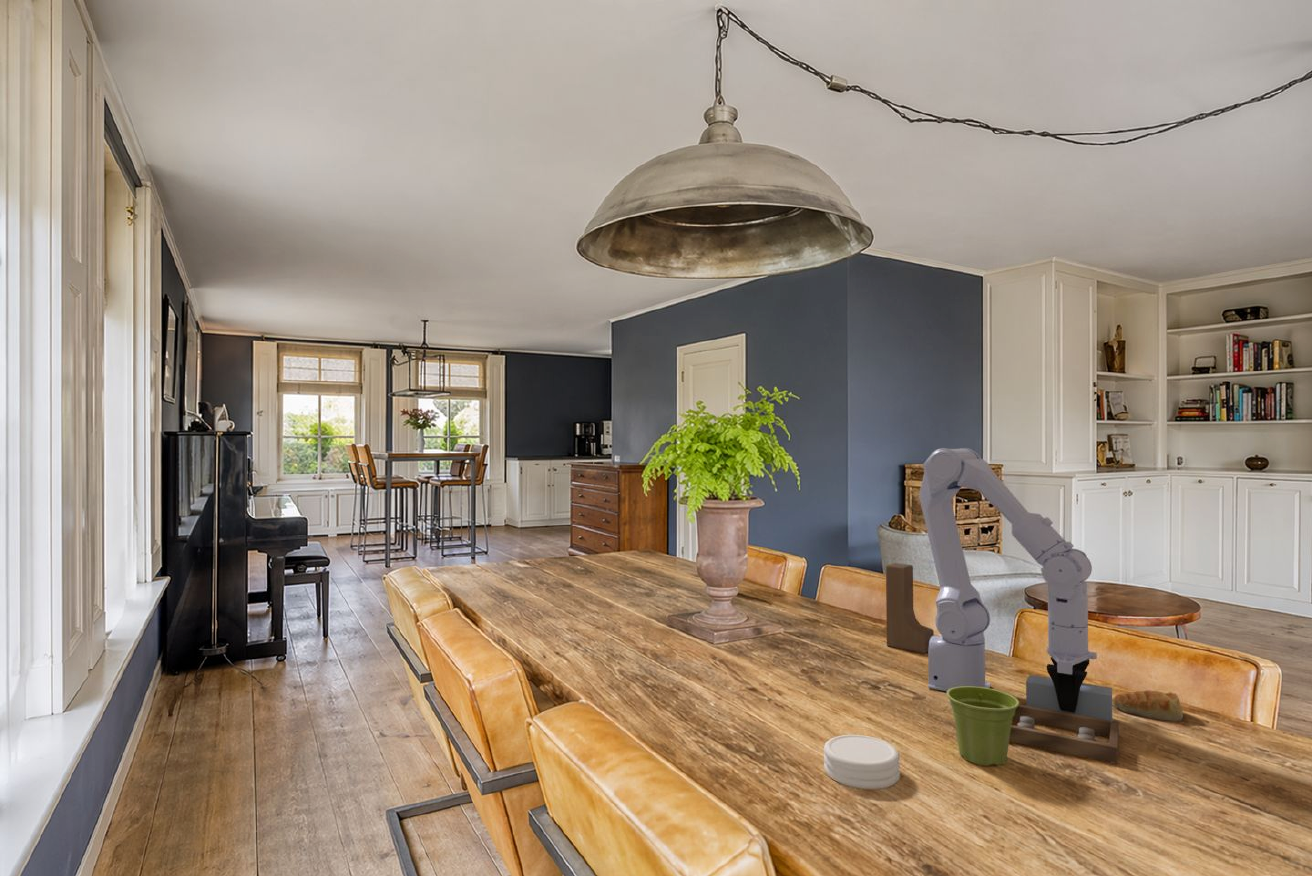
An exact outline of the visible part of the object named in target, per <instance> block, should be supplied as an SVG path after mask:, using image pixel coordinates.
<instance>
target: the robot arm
mask: <svg viewBox="0 0 1312 876" xmlns="http://www.w3.org/2000/svg"><path fill="white" fill-rule="evenodd" d="M922 467H923V471H924V473H923V477H922V480H921V485H920V489H919V492H918V493H919V495H918V496H919V502H920V506H921V510H922V515H923V519H924V523H925V529H926V532H927V536H928V541H929V545H930V546H929V547H930V549H931V550H930V551H931V553H932V558H933V563H934V567H935V570H936V575H937V579H938V583H939V588H940V589H939V592H938V594H937V597H936V600H935V604H936V616H935V620H934V621H935V626H936V629H937V631H938V633H939V634H940V635H934V636H932V637H931V639H930V642H929V650H928V653H927V654H928V655H927V657H928V667H927V668H928V671H927V672H928V683H927V688H928V689H930V690H931V689H932V690H938V691H944V692H947V690H949V689H951V688H954V687H960V686H974V687H984V688H989V689H991V688H990V687H991V685H992V684H991V682H988V681H987V682H986V645H985V643H986V641H985V639H986V638H985V636H984V632H985V631H986V630H987V629H988V628H989V626H990V623H991V616H990V612H989V610H988V608H987V606H985V604H984V603H983V601H982V599H981V595H980V592H979V591H978V590H977V589H976V588H975V587H974V586H973V585H972V583H971V579H970V575H969V569H968V566H967V562H966V558H965V553H964V549H963V546H962V541H961V536H960V533H959V528H958V524H957V520H956V517H955V511H954V508H953V504H952V500H953V499H954V498H955V496H956V495H957V494H958V492H959V491H960V490H961V488H967V489H970V490H975V491H978V492H979V493H980V494H981V495H982V496H983V497H984V498H985V499H986V500H987V501H988V502H989V503H990V504H991V505H992V506H993V507H994V508H995V509H996V510H997V511H998V512H999V513H1000V514H1001V515H1002V516H1003V517H1004V518H1005V519H1006V520H1007V521H1008V522H1009V523H1010V524H1011V536H1012V537H1014V538H1015V540H1016V541H1017V542H1018V543H1019V544H1020V545H1021V546H1022V547H1023V548H1024V550H1025V551H1026V552H1027V553H1028V555H1030V556H1031V557H1032V558H1033V560H1034V561H1035V562H1036V563H1038V565H1039V566H1042V567H1041V569H1040V571H1041V574H1042V575H1041V576H1042V577H1043V579H1044V580H1045V581H1046V583H1047V591H1048V592H1047V629H1048V630H1047V633H1048V635H1047V636H1048V637H1047V638H1048V646H1047V647H1046V653H1047V654H1048V655H1049V656H1050V660H1051V662H1052V664H1051V663H1047V664H1046V671H1047V673H1048V676H1049V678H1051V679H1052V681H1053V684H1054V687H1055V690H1056V695H1057V699H1058V704H1059V707H1060V710H1062V711H1067V712H1073V713H1075V711H1076V707H1077V702H1078V696H1079V690H1080V687H1081V685H1082V683H1084V681H1085V679H1086V677H1087V676H1088V671H1087V669H1088V667H1089V666H1090V660H1097V658H1098V653H1097V652H1095V651H1090V650H1089V608H1088V607H1089V604H1088V603H1089V602H1088V601H1089V599H1088V582H1086V581H1087V580H1088V579H1089V577H1090V576H1091V575H1092V570H1093V568H1092V567H1093V566H1092V563H1091V560H1090V558H1089V557H1088V556H1087V554H1086V553H1085V552H1084V551H1083V550H1080V549H1078V548H1074V544H1073V543H1072V542H1071V541H1066V540H1065V539H1064V538H1063V536H1061V535H1060V534H1059V533H1058V531H1057V530H1056V529H1055V528H1054V527H1053V526H1052V524H1053V523H1054V521H1052V520H1051V519H1050V518H1049V517H1048V516H1047V517H1044V516H1042V514H1040V513H1033V512H1029V511H1028V510H1027V508H1025V506H1024V505H1022V503H1021V502H1020V501H1019V500H1018V498H1017V497H1016V496H1015V495H1014V494H1013V492H1012V491H1010V489H1009V488H1008V486H1006V485H1005V483H1004V482H1003V481H1002V480H1001V478H999V476H998V475H997V474H996V473H995V472H994V471H993V469H992V468H991V466H990V465H989V463H988V462H987V461H986V460H984V459H983V458H981V456H980V455H979V454H978V453H977V452H976V451H975V450H973V449H971V448H969V447H961V448H947V447H946V448H945V447H941V448H938V449H935V450H934V451H933V452H932V453H931V454H930V455H929V457H927V459H926V461H924V462H923V464H922Z"/></svg>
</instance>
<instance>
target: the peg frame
mask: <svg viewBox="0 0 1312 876" xmlns="http://www.w3.org/2000/svg"><path fill="white" fill-rule="evenodd" d="M1012 720H1018V721H1019V722H1018V723H1017V725H1014V724H1012V725H1011V731H1010V738H1009V743H1010V742H1011V743H1015V744H1016V743H1017V744H1019V745H1020V744H1021V745H1023V746H1024V745H1025V746H1030V747H1034V748H1038V749H1039V748H1040V749H1044V750H1050V751H1053V752H1058V753H1064V754H1068V755H1073V756H1077V757H1084V758H1086V759H1087V758H1088V759H1091V760H1098V761H1102V762H1107V763H1112V764H1117V765H1118V764H1119V763H1118V762H1119V760H1118V759H1119V745H1120V744H1119V743H1120V725H1119V724H1120V722H1119V721H1114V720H1112V721H1109V720H1104V719H1098V718H1093V717H1087V716H1081V715H1076V714H1070V713H1065V712H1059V711H1054V710H1048V709H1042V708H1037V707H1031V706H1026V705H1025V704H1020V703H1019V706H1018V707H1017V708H1016V709H1015V715H1014V716H1013V719H1012ZM1035 724H1040V725H1044V726H1049V727H1054V728H1061V729H1065V730H1070V731H1076V732H1078V734H1077V737H1076V736H1070V735H1067V734H1066V735H1065V734H1060V733H1056V732H1055V733H1054V732H1051V731H1046V730H1045V731H1044V730H1040V729H1035V727H1036V725H1035ZM1096 735H1097V736H1102V737H1107V738H1109V739H1108V743H1106V742H1101V741H1096V740H1095V739H1096V737H1095V736H1096Z"/></svg>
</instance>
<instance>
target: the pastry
mask: <svg viewBox="0 0 1312 876" xmlns="http://www.w3.org/2000/svg"><path fill="white" fill-rule="evenodd" d="M1112 706H1114V707H1116V708H1117V709H1118V710H1120V711H1121V712H1124V713H1127V714H1132V715H1135V716H1136V715H1137V716H1141V717H1143V718H1151V719H1158V720H1162V721H1163V720H1164V721H1170V722H1181V721H1182V719H1183V718H1184V714H1183V709H1182V706H1181V703H1180V698H1179V697H1178V695H1177V693H1174V692H1161V691H1159V690H1158V691H1157V690H1151V689H1149V690H1148V689H1147V690H1146V689H1145V690H1143V691H1142V690H1137V691H1135V692H1132V691H1131V692H1130V691H1129V692H1126V693H1120V694H1117V695H1115V696H1114V698H1112Z"/></svg>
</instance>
